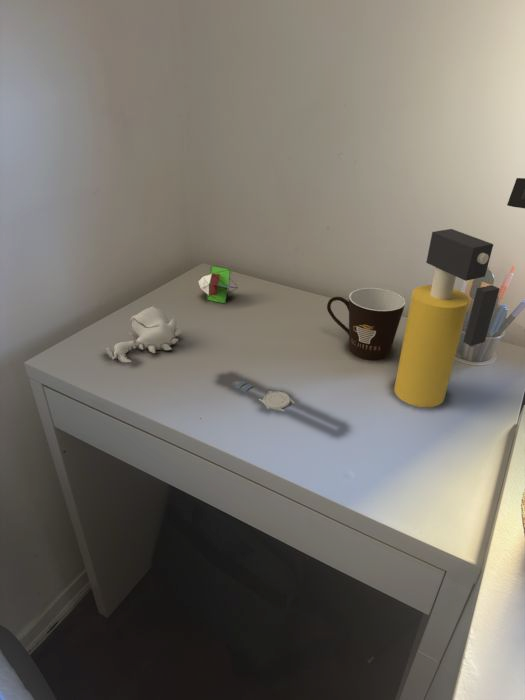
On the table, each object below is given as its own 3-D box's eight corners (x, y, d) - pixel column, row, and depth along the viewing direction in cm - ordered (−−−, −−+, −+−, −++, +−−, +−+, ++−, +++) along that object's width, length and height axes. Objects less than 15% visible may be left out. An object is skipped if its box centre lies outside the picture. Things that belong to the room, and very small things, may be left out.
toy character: (98, 347, 82) (161, 315, 87) (126, 384, 78) (189, 349, 84) (93, 326, 77) (159, 293, 82) (122, 365, 74) (189, 328, 79)
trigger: (477, 337, 62) (491, 284, 58) (484, 342, 61) (499, 288, 57) (463, 341, 61) (476, 288, 57) (470, 346, 60) (485, 291, 56)
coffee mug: (406, 358, 81) (417, 302, 76) (368, 373, 77) (377, 316, 72) (356, 329, 90) (363, 278, 84) (320, 342, 85) (324, 288, 80)
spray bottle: (419, 379, 76) (453, 223, 64) (462, 410, 70) (509, 243, 57) (383, 390, 73) (411, 230, 61) (424, 423, 67) (465, 251, 55)
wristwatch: (231, 374, 76) (231, 369, 75) (348, 426, 66) (349, 420, 65) (213, 387, 73) (213, 381, 72) (332, 443, 63) (333, 437, 62)
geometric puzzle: (215, 277, 104) (202, 255, 97) (245, 283, 101) (234, 260, 94) (202, 307, 101) (189, 286, 94) (233, 313, 99) (221, 292, 92)
